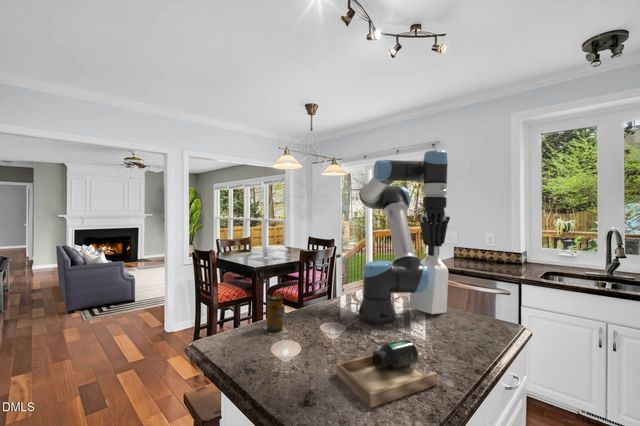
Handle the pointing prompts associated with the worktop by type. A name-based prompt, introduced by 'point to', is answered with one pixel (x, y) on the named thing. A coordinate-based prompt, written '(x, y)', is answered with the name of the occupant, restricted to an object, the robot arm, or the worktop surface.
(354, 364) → the tray
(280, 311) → the condiment
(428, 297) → the milk
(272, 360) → the worktop surface
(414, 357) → the supplement bottle
